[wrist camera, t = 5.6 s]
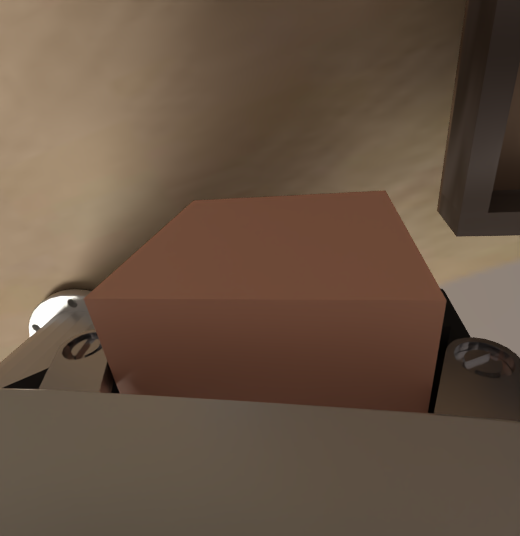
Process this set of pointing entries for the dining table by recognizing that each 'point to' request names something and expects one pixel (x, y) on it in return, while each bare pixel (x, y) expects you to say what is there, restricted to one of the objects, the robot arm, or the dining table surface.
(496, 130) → the tray
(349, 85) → the dining table surface
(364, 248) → the cube
